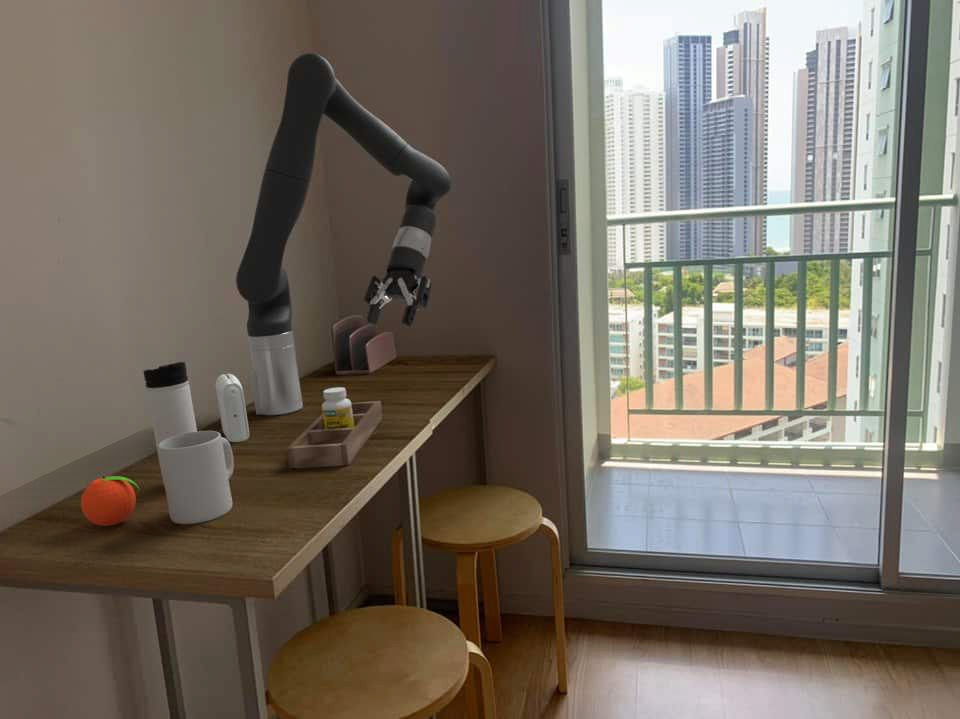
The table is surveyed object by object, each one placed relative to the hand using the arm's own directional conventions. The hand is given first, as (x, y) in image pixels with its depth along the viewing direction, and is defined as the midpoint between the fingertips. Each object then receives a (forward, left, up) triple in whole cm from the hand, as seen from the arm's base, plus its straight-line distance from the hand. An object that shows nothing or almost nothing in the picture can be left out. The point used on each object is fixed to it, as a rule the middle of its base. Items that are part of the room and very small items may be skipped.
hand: (388, 324), depth 148 cm
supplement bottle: (-7, -18, -18) cm, 27 cm away
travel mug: (-28, -36, -18) cm, 49 cm away
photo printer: (-30, -10, -18) cm, 37 cm away
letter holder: (-18, +51, -19) cm, 57 cm away
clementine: (-31, -51, -18) cm, 63 cm away
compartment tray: (-7, -18, -18) cm, 27 cm away
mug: (-19, -47, -18) cm, 54 cm away
